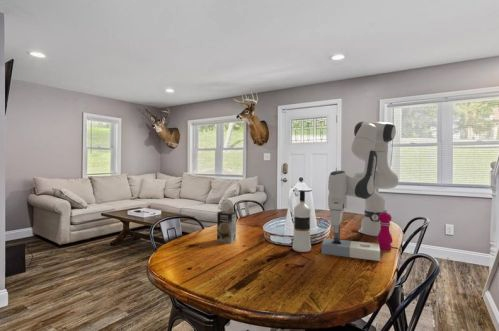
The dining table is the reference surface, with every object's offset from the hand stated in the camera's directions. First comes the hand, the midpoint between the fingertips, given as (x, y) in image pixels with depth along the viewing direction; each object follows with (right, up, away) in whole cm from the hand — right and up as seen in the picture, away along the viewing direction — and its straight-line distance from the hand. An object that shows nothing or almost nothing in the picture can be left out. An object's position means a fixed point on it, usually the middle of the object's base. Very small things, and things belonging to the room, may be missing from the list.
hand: (336, 231), depth 141 cm
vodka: (-17, -10, +3) cm, 20 cm away
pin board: (+6, -10, -2) cm, 12 cm away
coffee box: (-56, -10, +18) cm, 60 cm away
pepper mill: (+27, -10, +6) cm, 29 cm away
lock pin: (0, -9, 0) cm, 9 cm away
